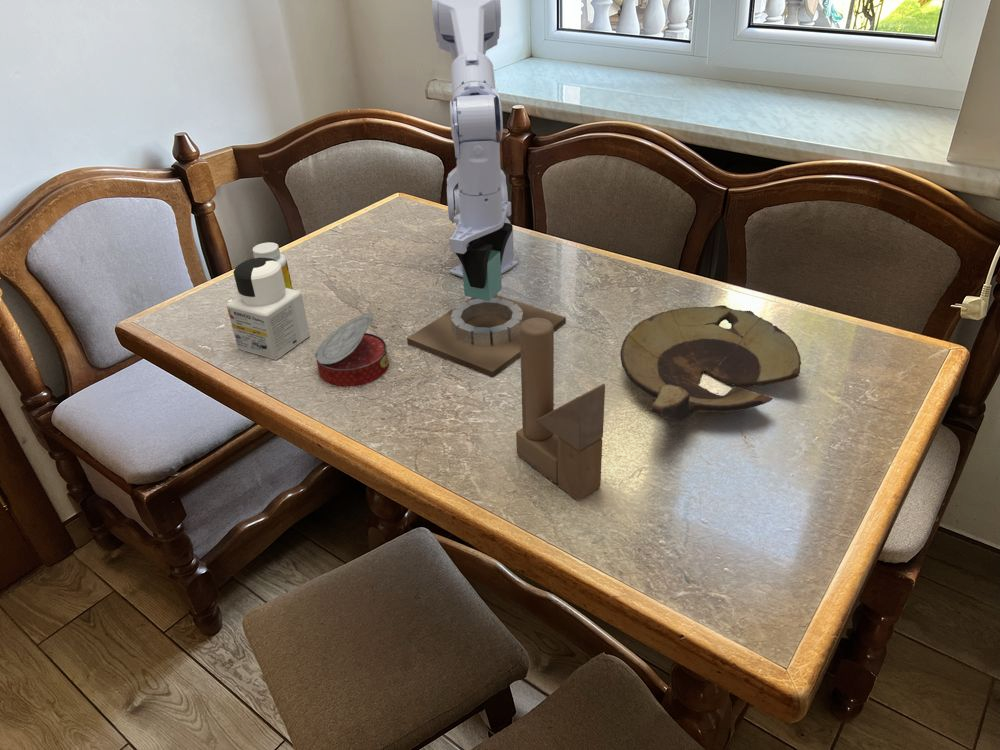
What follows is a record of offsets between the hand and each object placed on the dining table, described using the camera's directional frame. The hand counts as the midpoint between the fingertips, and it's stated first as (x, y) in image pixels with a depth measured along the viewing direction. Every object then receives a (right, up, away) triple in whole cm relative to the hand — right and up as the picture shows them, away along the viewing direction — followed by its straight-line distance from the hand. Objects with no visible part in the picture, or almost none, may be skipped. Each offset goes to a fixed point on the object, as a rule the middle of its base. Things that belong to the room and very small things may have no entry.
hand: (484, 279), depth 111 cm
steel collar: (0, -7, +5) cm, 9 cm away
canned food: (-19, -13, -1) cm, 23 cm away
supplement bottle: (-34, -2, +15) cm, 37 cm away
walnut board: (0, -7, +5) cm, 9 cm away
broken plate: (+27, -16, -8) cm, 33 cm away
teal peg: (0, -2, +1) cm, 2 cm away
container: (-32, -9, +5) cm, 33 cm away
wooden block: (+9, -25, -21) cm, 34 cm away
